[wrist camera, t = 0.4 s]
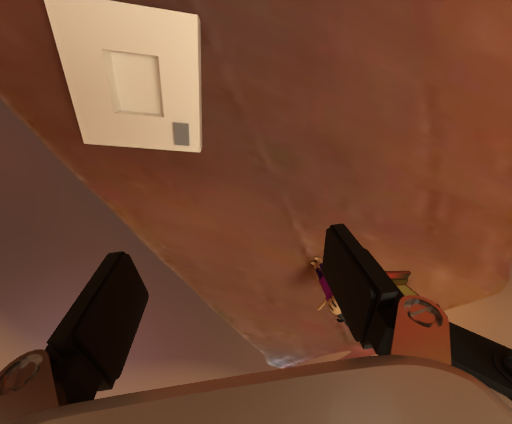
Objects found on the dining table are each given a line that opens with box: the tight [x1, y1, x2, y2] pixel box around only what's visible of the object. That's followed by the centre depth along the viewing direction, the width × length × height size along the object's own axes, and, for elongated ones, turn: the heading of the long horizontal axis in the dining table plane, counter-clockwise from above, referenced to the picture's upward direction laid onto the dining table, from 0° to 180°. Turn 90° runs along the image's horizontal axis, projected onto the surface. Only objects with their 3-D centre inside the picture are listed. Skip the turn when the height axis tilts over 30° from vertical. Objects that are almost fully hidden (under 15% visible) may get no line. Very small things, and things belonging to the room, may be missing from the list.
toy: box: [311, 257, 348, 326], centre depth 46 cm, size 10×6×15 cm, turn 154°
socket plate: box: [44, 0, 202, 152], centre depth 29 cm, size 16×16×4 cm
